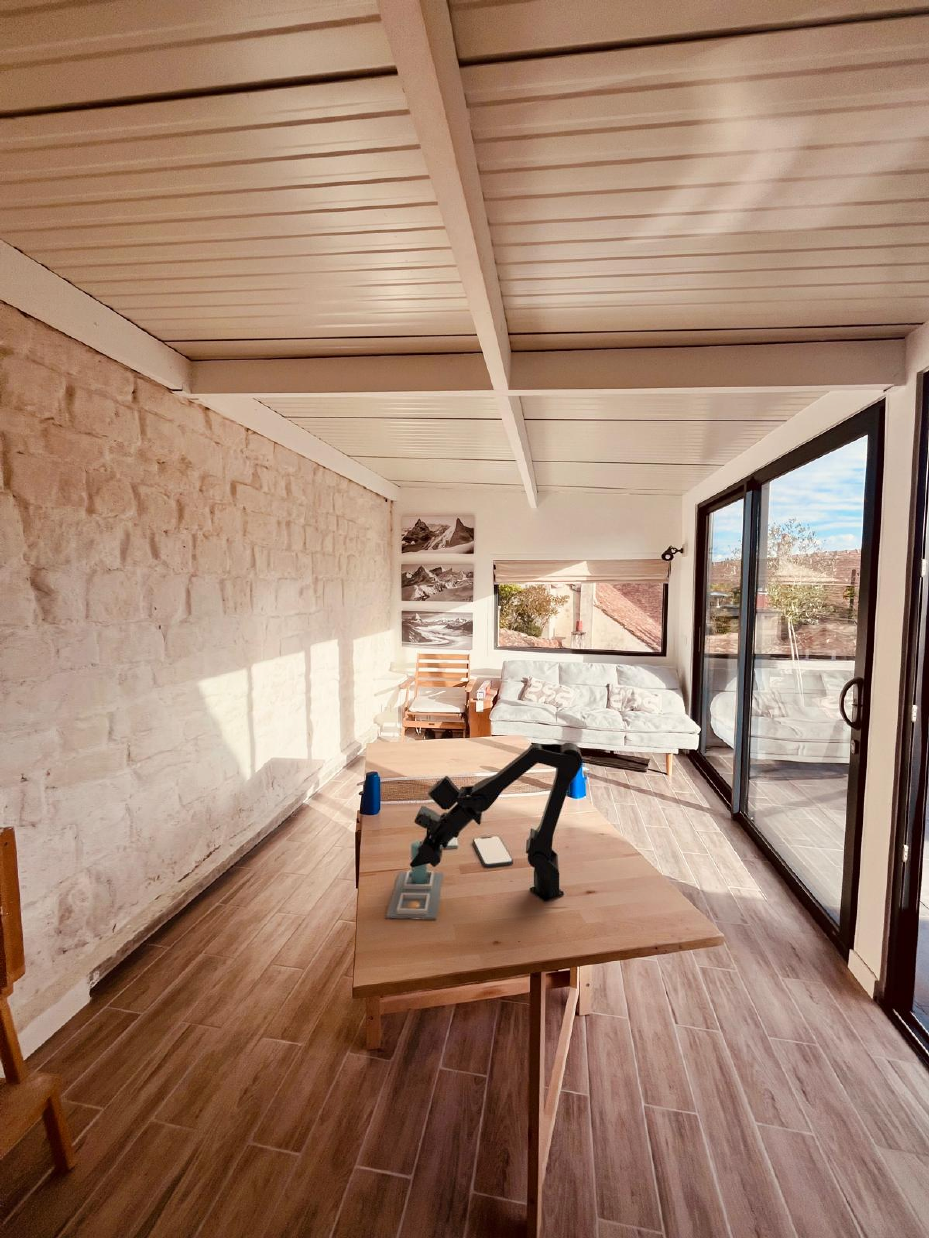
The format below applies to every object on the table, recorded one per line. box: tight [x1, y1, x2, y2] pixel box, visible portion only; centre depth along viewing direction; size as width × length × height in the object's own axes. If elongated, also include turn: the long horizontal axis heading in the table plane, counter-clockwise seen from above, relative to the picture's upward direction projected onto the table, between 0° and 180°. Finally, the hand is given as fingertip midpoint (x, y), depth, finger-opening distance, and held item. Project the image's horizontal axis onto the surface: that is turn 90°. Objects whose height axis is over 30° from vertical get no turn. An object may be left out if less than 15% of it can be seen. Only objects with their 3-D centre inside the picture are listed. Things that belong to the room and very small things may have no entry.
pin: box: [410, 841, 428, 884], centre depth 148 cm, size 4×4×10 cm
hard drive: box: [440, 837, 459, 850], centre depth 173 cm, size 2×8×12 cm
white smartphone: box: [472, 835, 514, 869], centre depth 165 cm, size 9×2×16 cm
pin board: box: [385, 870, 444, 920], centre depth 143 cm, size 20×12×2 cm, turn 178°
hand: (413, 859), depth 148 cm, fingers open, 6 cm apart
